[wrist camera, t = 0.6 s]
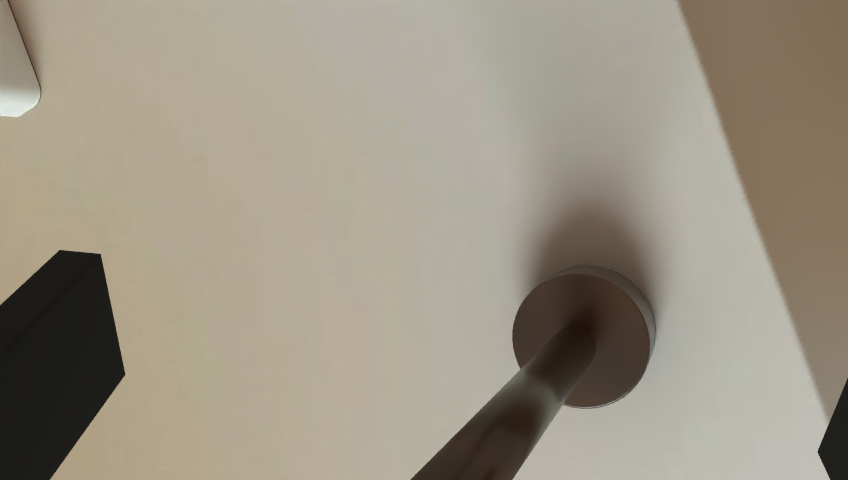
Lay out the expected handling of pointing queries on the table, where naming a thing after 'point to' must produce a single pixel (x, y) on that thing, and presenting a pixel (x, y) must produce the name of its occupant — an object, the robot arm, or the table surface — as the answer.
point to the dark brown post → (555, 370)
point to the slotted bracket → (15, 69)
